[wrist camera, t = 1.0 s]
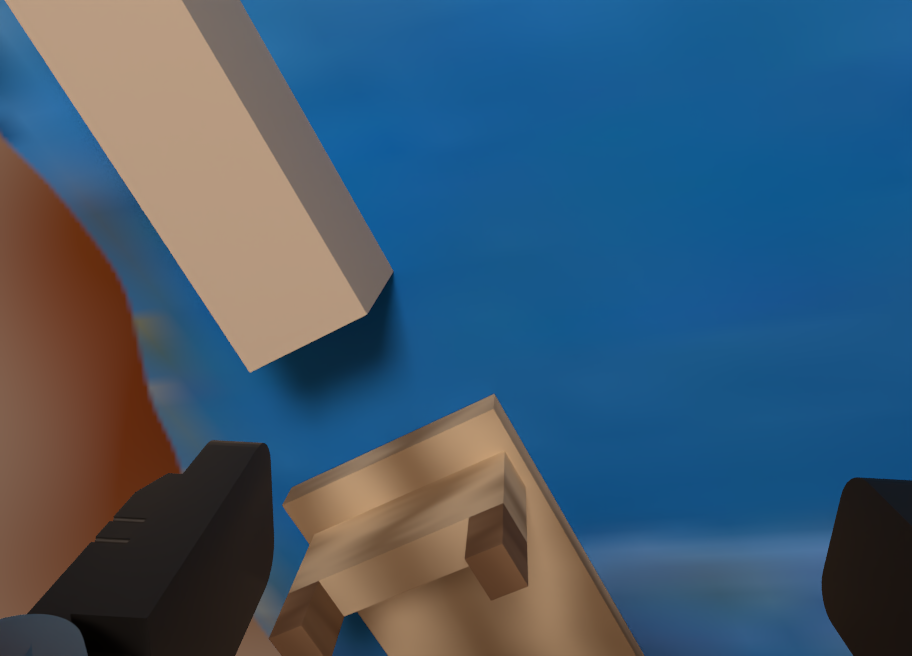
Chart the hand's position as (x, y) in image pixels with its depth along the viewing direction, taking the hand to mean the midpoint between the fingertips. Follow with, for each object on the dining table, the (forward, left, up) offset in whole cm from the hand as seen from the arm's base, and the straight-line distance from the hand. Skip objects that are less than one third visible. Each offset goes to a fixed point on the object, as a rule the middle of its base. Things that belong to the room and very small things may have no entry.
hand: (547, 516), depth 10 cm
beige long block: (+8, -10, -20) cm, 24 cm away
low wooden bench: (+10, +16, -20) cm, 28 cm away
